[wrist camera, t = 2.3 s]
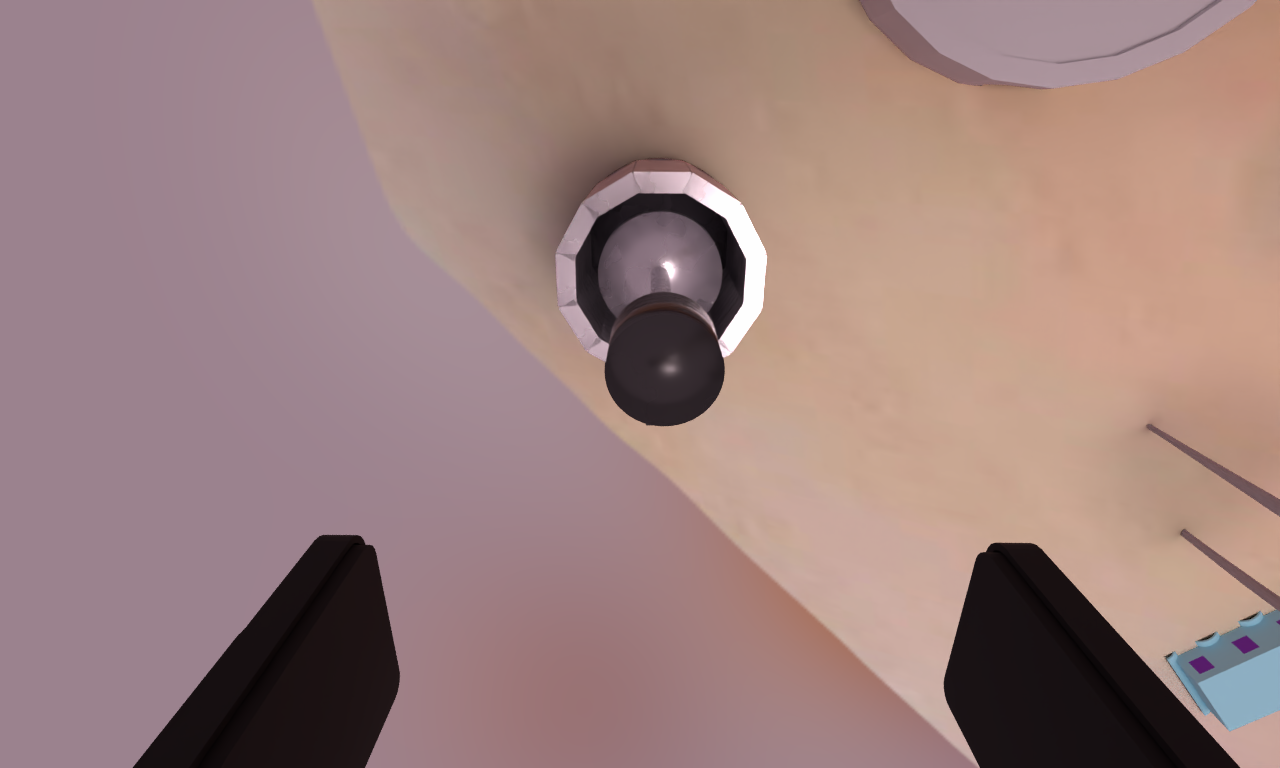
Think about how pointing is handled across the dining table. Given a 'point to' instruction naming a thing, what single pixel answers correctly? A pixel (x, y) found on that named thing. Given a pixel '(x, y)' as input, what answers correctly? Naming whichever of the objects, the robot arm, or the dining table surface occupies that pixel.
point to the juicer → (1248, 488)
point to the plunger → (662, 317)
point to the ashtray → (1046, 36)
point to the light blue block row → (1235, 671)
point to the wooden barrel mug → (659, 190)
